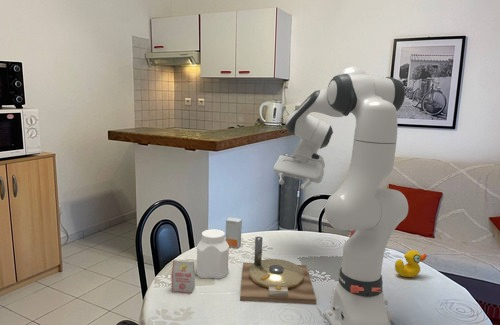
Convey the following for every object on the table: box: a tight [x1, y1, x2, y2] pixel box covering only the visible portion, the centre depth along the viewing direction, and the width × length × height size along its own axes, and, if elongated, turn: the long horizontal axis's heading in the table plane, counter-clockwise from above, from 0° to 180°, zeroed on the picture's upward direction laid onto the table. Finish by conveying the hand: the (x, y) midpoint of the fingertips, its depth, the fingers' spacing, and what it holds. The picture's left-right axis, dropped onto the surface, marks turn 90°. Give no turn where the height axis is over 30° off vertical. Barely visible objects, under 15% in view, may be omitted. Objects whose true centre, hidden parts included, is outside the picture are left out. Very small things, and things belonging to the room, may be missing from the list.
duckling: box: [394, 249, 427, 278], centre depth 134 cm, size 11×5×10 cm, turn 96°
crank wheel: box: [249, 236, 304, 289], centre depth 126 cm, size 19×19×12 cm
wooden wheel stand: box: [239, 262, 317, 305], centre depth 125 cm, size 24×24×4 cm
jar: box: [196, 228, 230, 280], centre depth 131 cm, size 12×10×15 cm
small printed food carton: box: [171, 260, 196, 294], centre depth 118 cm, size 4×7×10 cm, turn 85°
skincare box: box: [225, 216, 243, 249], centre depth 155 cm, size 6×4×12 cm
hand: (291, 186), depth 141 cm, fingers open, 8 cm apart
